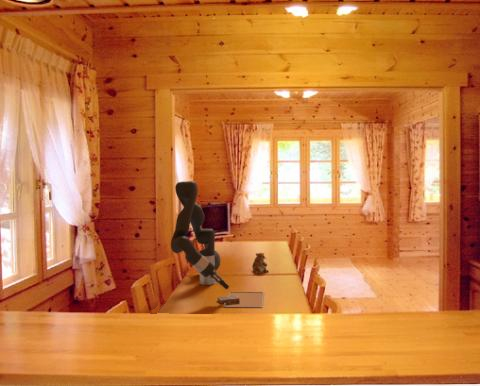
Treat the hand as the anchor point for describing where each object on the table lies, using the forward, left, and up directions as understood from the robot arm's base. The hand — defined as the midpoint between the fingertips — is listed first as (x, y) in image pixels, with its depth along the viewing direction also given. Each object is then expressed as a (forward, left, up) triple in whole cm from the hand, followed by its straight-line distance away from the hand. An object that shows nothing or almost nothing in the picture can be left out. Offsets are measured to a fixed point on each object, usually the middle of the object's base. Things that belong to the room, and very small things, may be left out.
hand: (227, 287), depth 217 cm
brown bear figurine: (-72, +3, -7) cm, 73 cm away
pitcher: (-58, -30, -7) cm, 66 cm away
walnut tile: (+2, -4, -6) cm, 8 cm away
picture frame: (-4, +8, -8) cm, 12 cm away
